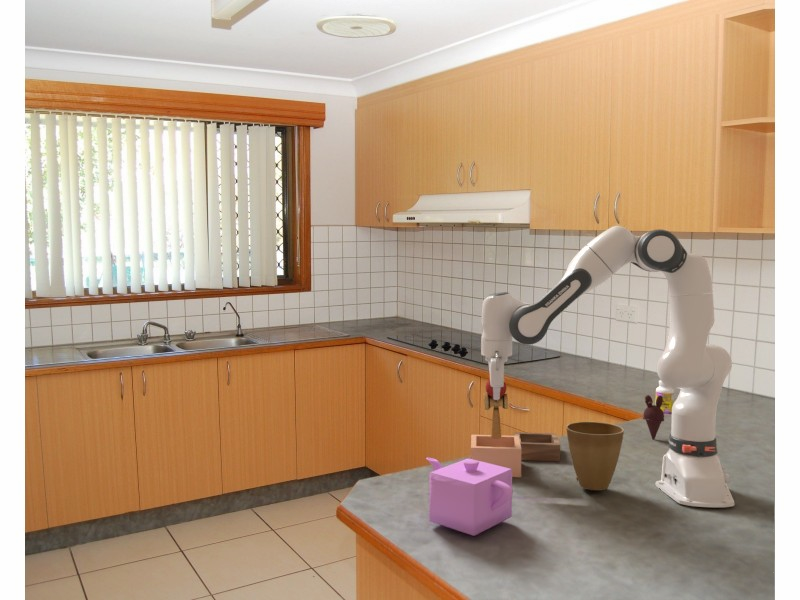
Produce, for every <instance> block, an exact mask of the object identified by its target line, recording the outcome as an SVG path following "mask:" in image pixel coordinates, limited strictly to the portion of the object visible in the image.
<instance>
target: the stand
mask: <svg viewBox="0 0 800 600" xmlns="http://www.w3.org/2000/svg"><path fill="white" fill-rule="evenodd" d="M470 441H471V442H470V459H473V460H477V461H481V462H485V463H489V464H494V465H498V466H502V467H506V468H510V469H512V478H522V460H521V445H520V440H519V436H514V435H502V434H501V438H498V439H495V438H492V437H491V434H471V438H470Z"/></svg>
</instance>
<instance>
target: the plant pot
mask: <svg viewBox="0 0 800 600" xmlns="http://www.w3.org/2000/svg"><path fill="white" fill-rule="evenodd" d="M565 427H566V435H567V443H568V447H569V453H570V458H571V461H572V465H573V469H574V473H575V475H576V478H577V481H578V484H579V486H580V487H581V488H583V489H585V490H590V491H603V490H604V491H605V490H606V489H608V488H609V486H610V485H611V481H612V479H613V476H614V473H615V471H616V469H617V468H616V467H617V465H618V461H619V458H620V453H621V449H622V444H623V439H624V433H625V432H624V431H625V429H624V428H623V427H622V426H620V425H617V424H614V423H609V422H608V423H607V422H599V421H577V422H572V423H568V424H567V425H566V426H565Z"/></svg>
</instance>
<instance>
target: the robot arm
mask: <svg viewBox="0 0 800 600" xmlns="http://www.w3.org/2000/svg"><path fill="white" fill-rule="evenodd" d="M687 252H688V251H687V250H686V249H685V248H684V246H683V245H682V243H681V242H680V240H679V239H678V237H677V236H676V235H675V234H673V233H672V232H670V231H669V230H665V229H661V228H660V229H659V228H658V229H653V230H650V231H648V232H646V233H644V234H642V235H635V234H633V233H632V232H631V230H630V229H628V228H627V227H624V226H621V225H614V226H611V227H609V228H607V229H606V230H604V231H603V232H601V233H600V234H599V235H597V236H596V237H594V238H593V239H591V240H590V241H589V242H588V243H587V244H586V245H584V246H583V247H582V248H581V249H580V250H578V252H577V253H576V254H575V256H574V257H573V258H572V260H571V261H570V262H569V263H568V265H567V269H566V271H565V273H564V275H563V277H562V278H561V279H560V280H559V282H558V283H557V284H556V285H555V286H554V287H552V288H551V289H550V291H548V292H546V293H545V295H543V297H541V298H540V299H539V300H538V301H537V302H535V303H534V304H531V303H528V302H526V301H523V300H521V299H519V298H517V297H516V296H513V295H512V293H510V292H508V291H507V292H506V291H503V292H497V293H496V292H494V293H492V294H488V295H487V296H486V297H485V298H484V300H482V307H481V316H480V317H481V327H482V333H481V336H480V338H481V340H480V342H481V343H480V347H481V348H480V350H481V351H480V355H481V356H483V357H485V359H484V360H485V361H486V362H487V363H488V370H489V379H490V384H491V387H493V399H494V400H499V399H500V387H503V386H504V382H505V363H506V362H508V360H509V359H508V357H511V356H512V357H513V339H514V340H515V341H517V342H518V343H519V344H523V345H535V344H537V343H539V342H540V341H542V339H543V338H544V337H545V336H546V334H547V331H548V330H549V327H550V325H551V323H552V322H553V321H554V320H555V319H556V318H557V317H558V316H559V315H560V314H561V313H562V312H563V311H564V310H565V309H567V308H568V307H569V306H570V305H571V304H572V303H574V301H576V300H577V299H578V298H580V297H581V296H583V295H585V294H586V293H588V292H590V291H591V290H593V289H595V288H597V287H598V286H601V284H603V283H604V282H606V281H607V280H609V279H610V278H611V277H612V276H614V275H615V273H616V272H618V271H619V270H620V269H622V268H623V267H625V265H628V264H630V263H631V264H633V265H634V266H636V267H638V268H639V269H640V270H643V271H646V272H649V273H651V272H652V273H657V272H661V273H662V274H664V277H666V280H667V284H668V285H667V286H668V304H669V329H668V334H667V340H666V343H665V346H664V351H663V353H662V355H661V356H660V357H659V359H658V361H657V364H656V374H657V377H658V378H659V380H661V381H662V382H663V383H664V384H665V385H666V386H668V387H671V388H673V389H679V390H680V391H679V393H678V394H677V395H678V396H677V398H676V399H675V400H674V404H673V406H672V413H671V420H670V421H671V427H670V429H671V430H670V434H669V436H668V437H669V438H668V447H669V449H668V450H667V452H666V453H665V454H664V455H663V457H662V464H661V465H662V466H661V476H660V480H655V484H654V486H655V485H656V486H655V487H657V488H658V489H659V488H660V489H661V491H662V492H663V493H664V494H665V495H667V496H668V497H670V498H671V499H672V500H674V501H675V502H676V503H678V504H680V505H684V506H689V507H690V506H691V507H699V508H730V507H734V506H735V500H734V497H733V496H732V494H731V491H730V488H729V487H728V483H730V482H731V481H730V480H731V477H730V476H731V475H730V474H729V473H724V472H725V465H723V464H722V465H721V461H720V460H721V459H720V456H719V455H717V454H718V442H717V438H716V419H717V418H716V417H717V416H716V415H717V408H718V404H719V400H720V397H721V393H722V390H723V386H724V384H725V380H726V378H727V376H728V375H729V374H730V372H731V370H732V366H733V362H732V357H731V355H730V353H729V351H727V350H726V349H725V348H724V347H722V346H719V345H716V344H710V343H707V342H708V338H709V335H710V331H711V329H712V328H713V326H714V324H715V310H714V308H715V307H714V293H713V292H714V291H713V282H712V278H711V277H712V276H711V273H710V272H711V271H710V268H709V264H708V262H707V259H706V258H705V257H703V255H700V254H697V253H689V252H688V253H687ZM660 489H659V490H660Z"/></svg>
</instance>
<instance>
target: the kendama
mask: <svg viewBox="0 0 800 600" xmlns="http://www.w3.org/2000/svg"><path fill="white" fill-rule="evenodd" d="M485 391H486V393H483V410H485V411H489V410H490V409H491V408H493V410H492V419H491V420H492V421H491V431H490V432H491V434H490V435H491V437H492V438H495V439H498V438H501V435H502V429H501V417H500V414H501V413H500V407H501V408H503V409H504V410H508V408H509V399H508V398H509V397H508V393H506V392H507V384H506V381H504V386H503V387H500V399H499V400H494V399H493V387H491V384H490V378H489V379H488V380H487V381H486V383H485Z"/></svg>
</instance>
